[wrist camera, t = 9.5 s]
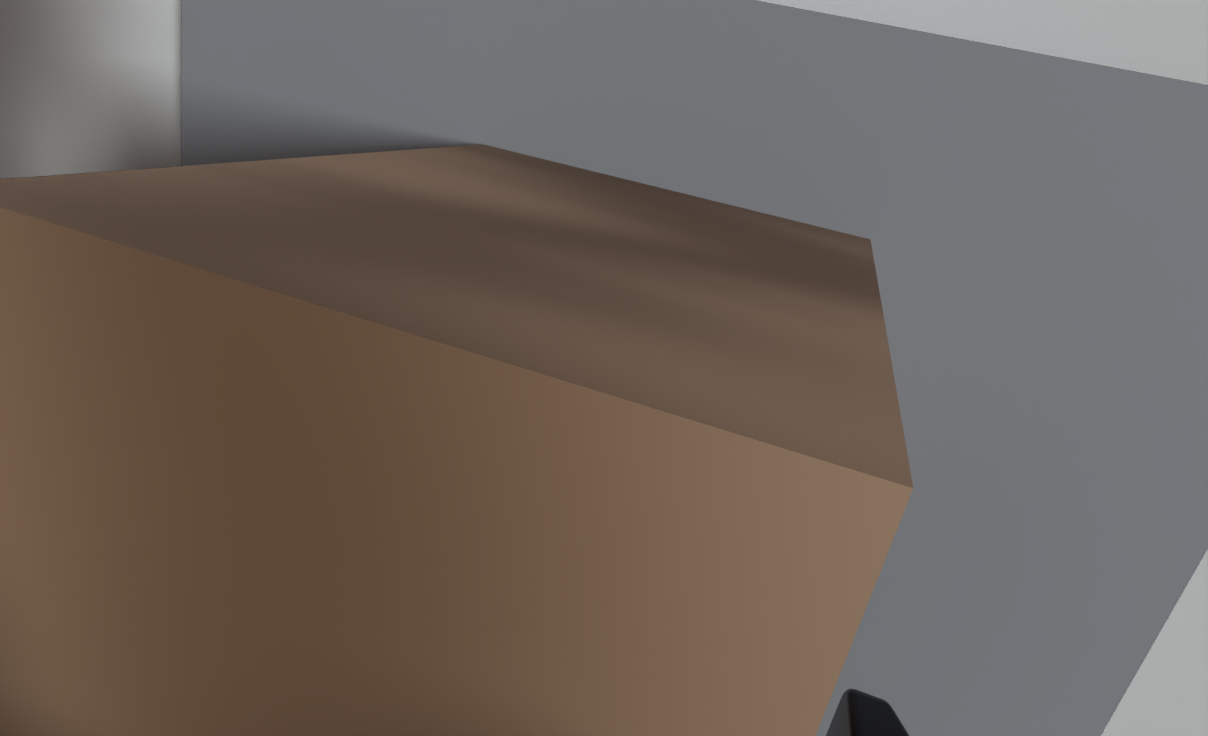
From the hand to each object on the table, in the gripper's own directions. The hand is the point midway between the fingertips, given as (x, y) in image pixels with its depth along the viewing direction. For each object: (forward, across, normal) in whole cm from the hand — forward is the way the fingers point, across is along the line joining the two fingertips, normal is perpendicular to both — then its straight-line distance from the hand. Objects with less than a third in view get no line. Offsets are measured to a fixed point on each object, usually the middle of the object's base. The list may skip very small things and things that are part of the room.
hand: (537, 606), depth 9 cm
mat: (+3, 0, 0) cm, 3 cm away
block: (+2, 0, 0) cm, 2 cm away
